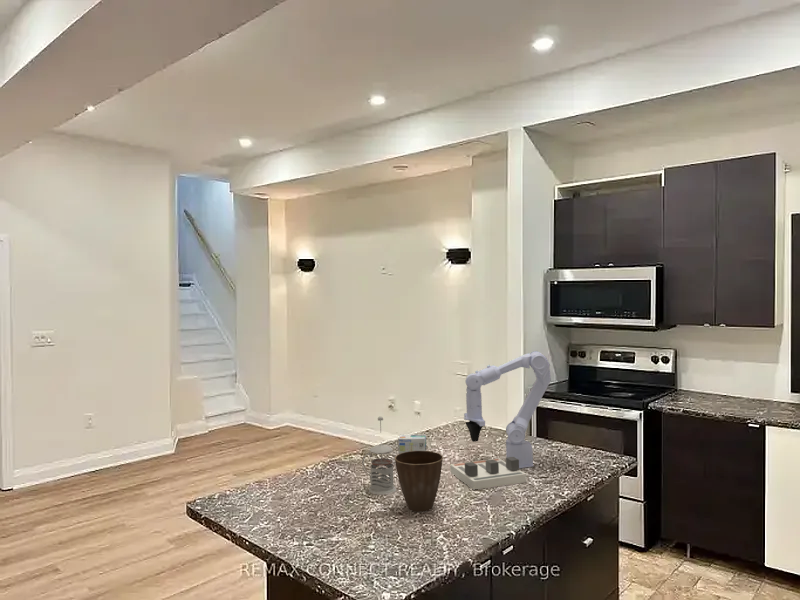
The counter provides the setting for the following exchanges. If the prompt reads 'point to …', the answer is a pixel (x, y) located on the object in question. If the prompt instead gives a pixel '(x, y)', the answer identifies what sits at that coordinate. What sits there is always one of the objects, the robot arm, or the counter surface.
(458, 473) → the breaker panel
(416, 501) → the plant pot
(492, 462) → the block
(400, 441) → the light bulb box
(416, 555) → the counter surface
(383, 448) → the french press
